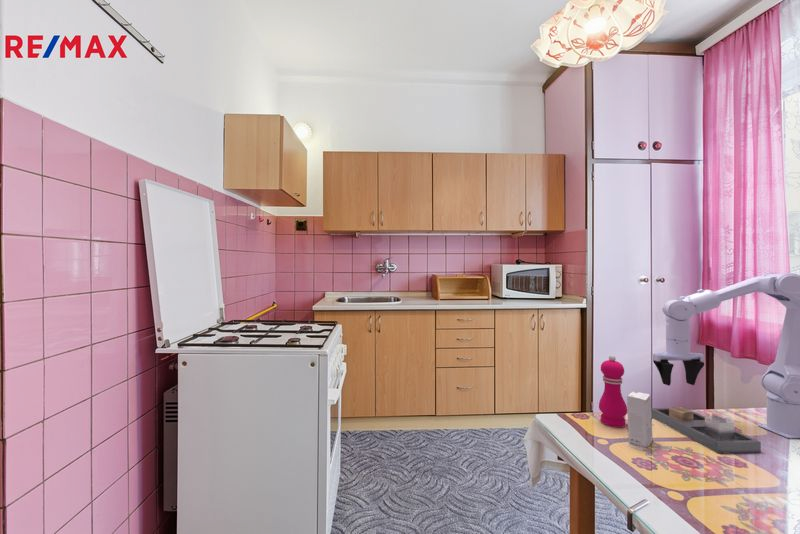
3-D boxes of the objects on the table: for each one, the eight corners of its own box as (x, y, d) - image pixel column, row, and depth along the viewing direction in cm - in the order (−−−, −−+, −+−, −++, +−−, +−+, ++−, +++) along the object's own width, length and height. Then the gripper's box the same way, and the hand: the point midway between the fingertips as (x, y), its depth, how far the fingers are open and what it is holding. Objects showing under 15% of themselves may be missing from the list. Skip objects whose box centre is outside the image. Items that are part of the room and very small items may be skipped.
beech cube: (679, 419, 105) (679, 406, 105) (693, 425, 101) (693, 411, 101) (669, 421, 104) (668, 407, 104) (682, 427, 100) (682, 413, 101)
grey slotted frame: (684, 415, 108) (684, 407, 108) (760, 452, 86) (760, 442, 86) (650, 416, 108) (650, 408, 108) (718, 453, 86) (717, 443, 86)
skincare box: (647, 448, 88) (647, 400, 88) (627, 442, 91) (626, 395, 92) (653, 440, 92) (652, 394, 93) (633, 434, 96) (632, 390, 96)
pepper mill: (632, 429, 99) (631, 358, 99) (604, 427, 100) (603, 357, 100) (621, 419, 106) (620, 353, 106) (595, 417, 107) (594, 352, 108)
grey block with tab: (719, 438, 93) (718, 413, 93) (734, 446, 89) (733, 419, 89) (705, 439, 93) (704, 413, 93) (719, 446, 89) (718, 420, 89)
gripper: (689, 336, 111) (690, 379, 110) (645, 337, 110) (645, 380, 110) (709, 341, 104) (710, 387, 103) (662, 341, 103) (663, 387, 103)
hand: (678, 384), depth 106 cm, fingers open, 7 cm apart
